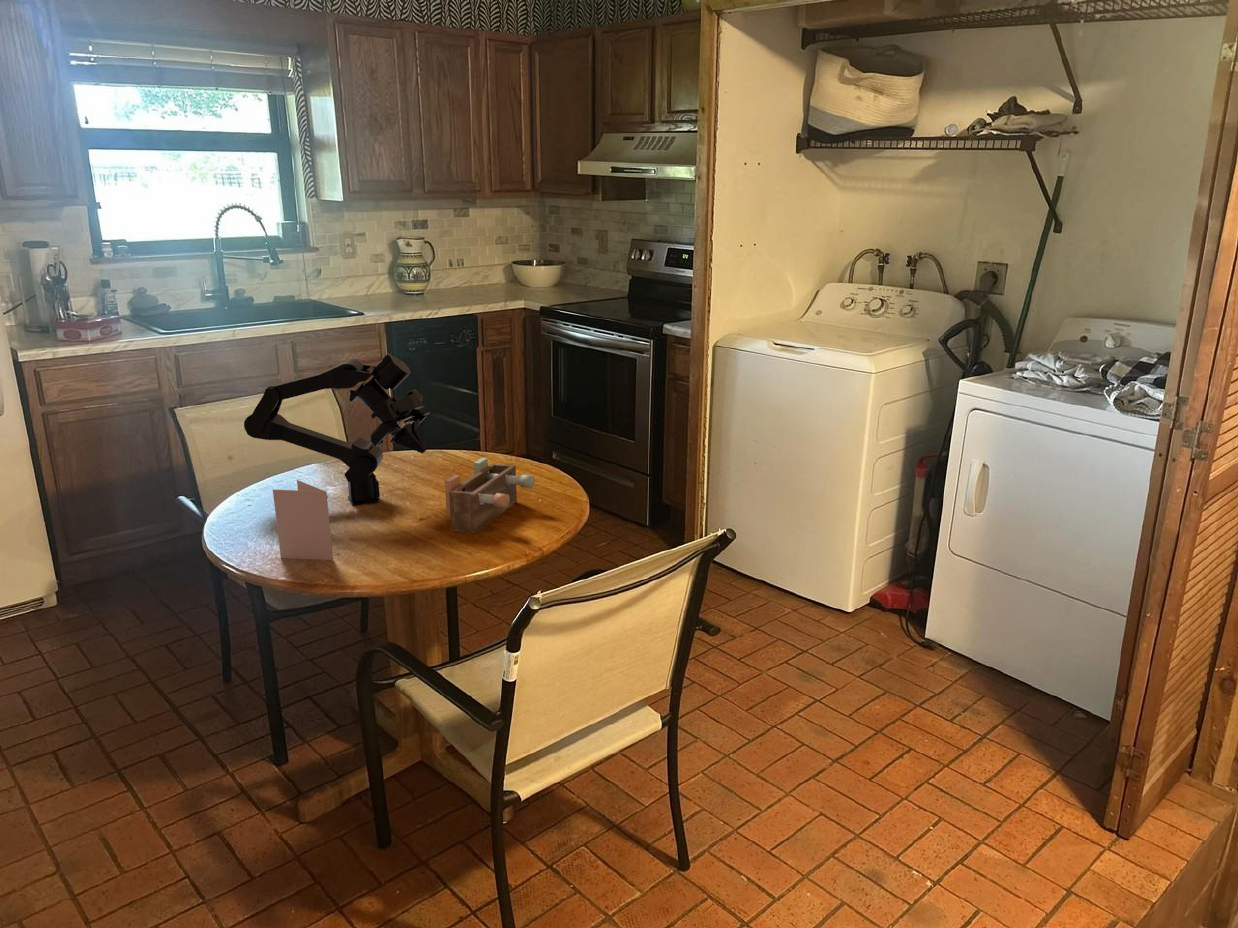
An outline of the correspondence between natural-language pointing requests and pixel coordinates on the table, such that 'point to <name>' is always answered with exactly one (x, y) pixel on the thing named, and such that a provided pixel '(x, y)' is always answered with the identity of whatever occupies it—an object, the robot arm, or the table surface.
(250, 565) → the table surface
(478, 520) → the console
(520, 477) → the sage button
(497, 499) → the pink block with rod
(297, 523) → the greeting card
